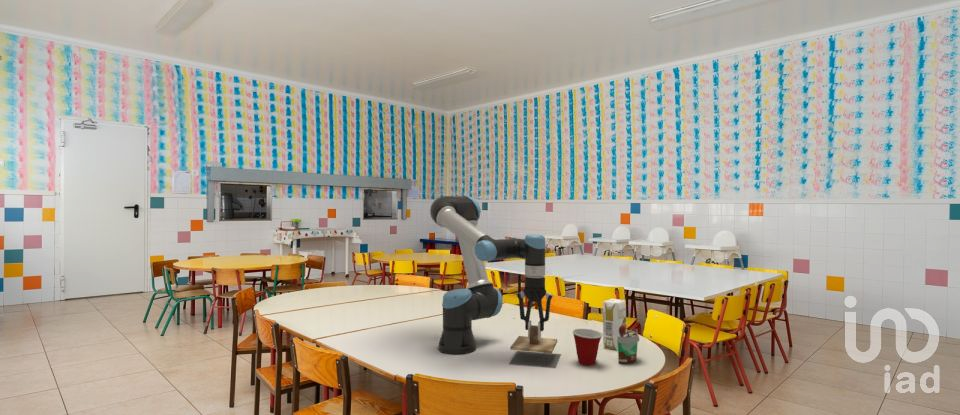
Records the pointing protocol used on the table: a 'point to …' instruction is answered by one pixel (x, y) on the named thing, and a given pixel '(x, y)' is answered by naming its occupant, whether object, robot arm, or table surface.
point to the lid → (534, 342)
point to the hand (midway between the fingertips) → (534, 338)
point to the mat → (535, 359)
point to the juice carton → (613, 322)
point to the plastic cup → (587, 345)
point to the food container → (627, 347)
